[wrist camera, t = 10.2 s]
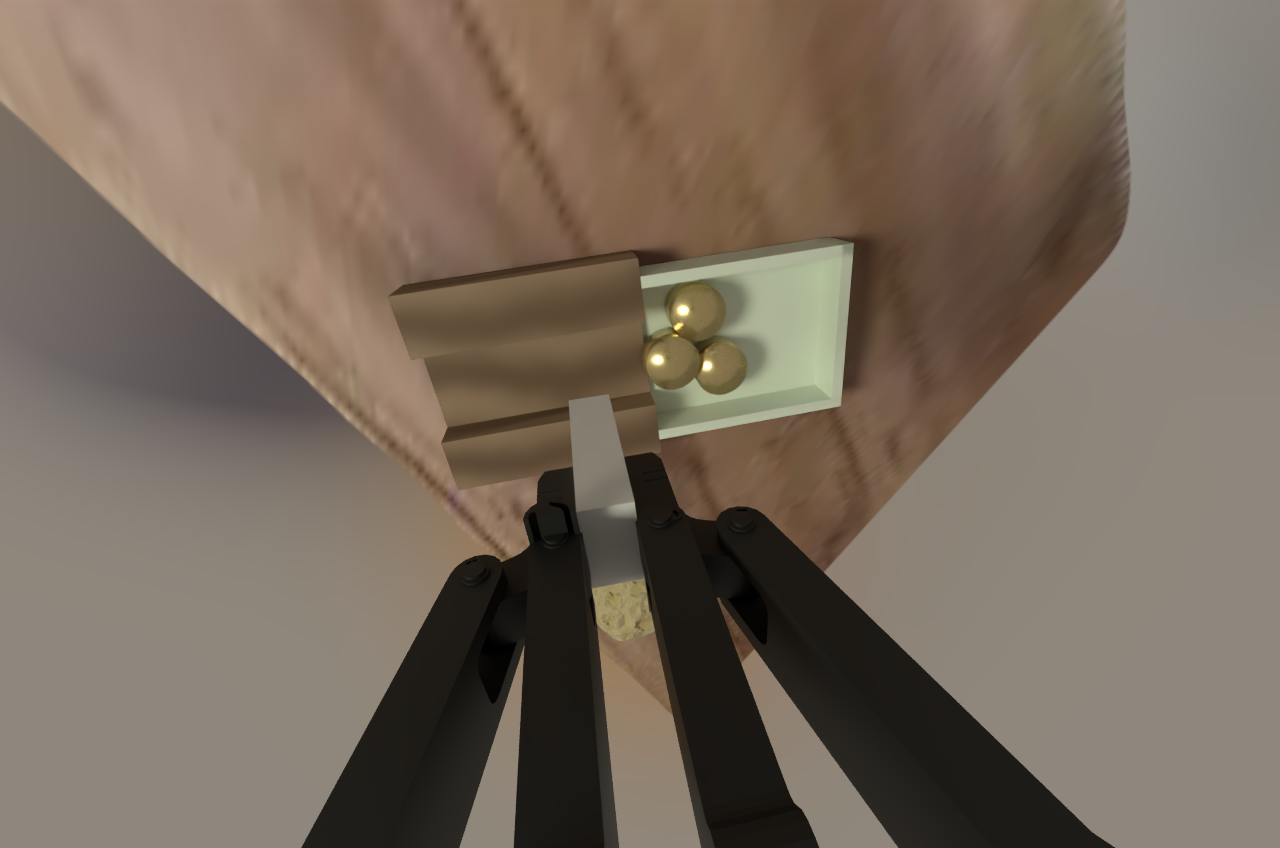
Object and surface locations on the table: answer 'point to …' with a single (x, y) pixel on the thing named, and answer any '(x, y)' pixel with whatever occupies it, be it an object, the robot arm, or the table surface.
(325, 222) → the table surface
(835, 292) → the tray
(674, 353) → the chip
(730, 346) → the chip
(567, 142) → the table surface
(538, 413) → the slot board
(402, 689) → the robot arm
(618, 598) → the decorative object
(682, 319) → the chip
